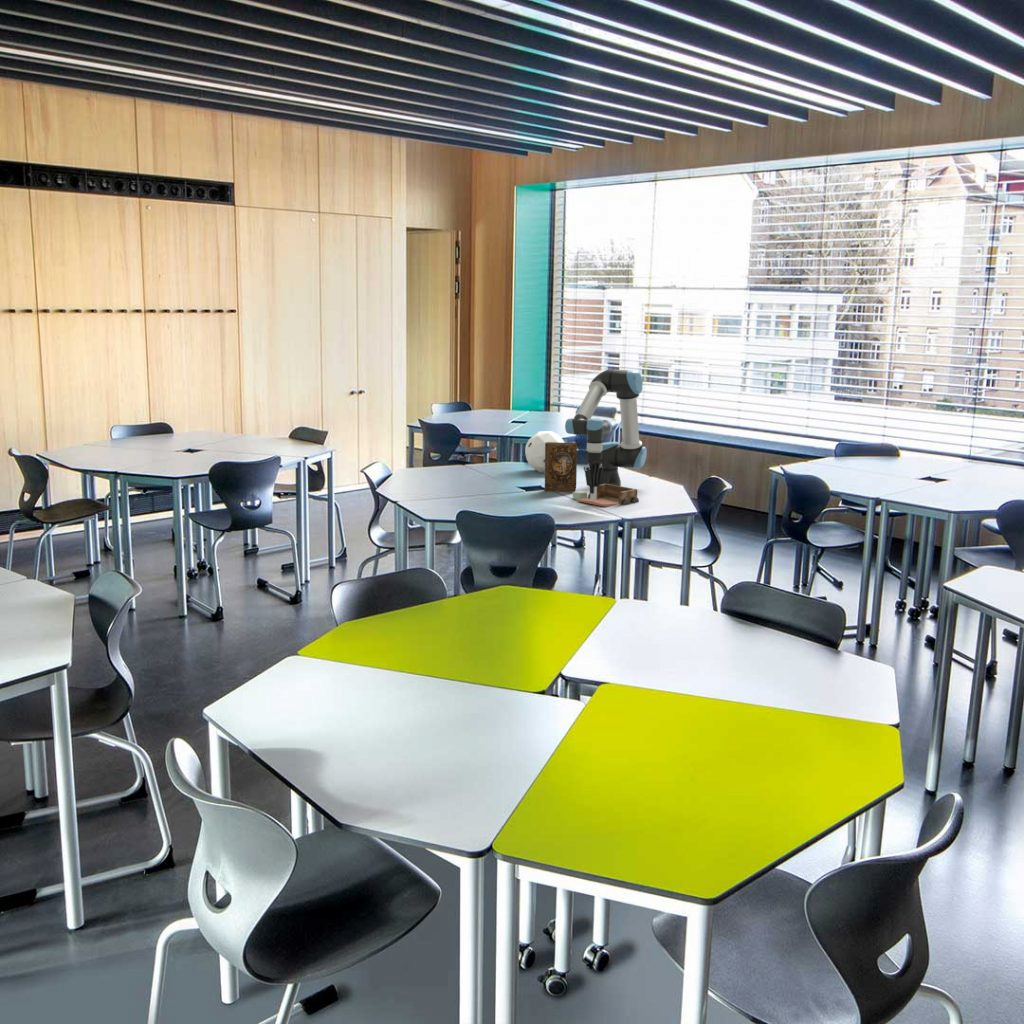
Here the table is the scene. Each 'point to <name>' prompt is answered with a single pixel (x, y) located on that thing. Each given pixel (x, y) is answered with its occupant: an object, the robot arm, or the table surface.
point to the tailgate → (597, 502)
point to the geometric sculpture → (539, 448)
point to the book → (560, 467)
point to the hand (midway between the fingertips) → (593, 499)
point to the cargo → (579, 495)
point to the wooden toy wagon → (616, 494)
